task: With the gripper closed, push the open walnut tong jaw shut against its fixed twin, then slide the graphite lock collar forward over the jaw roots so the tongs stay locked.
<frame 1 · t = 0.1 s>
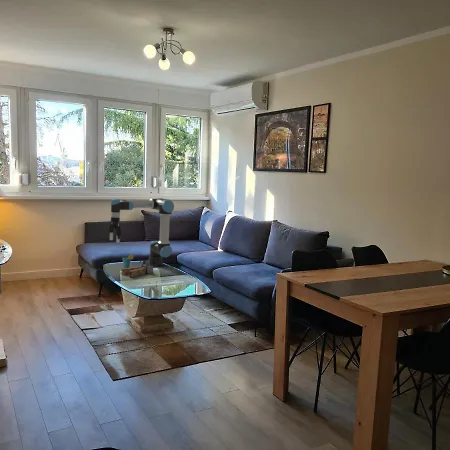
hand: (114, 241, 381), 28 cm above the table, fingers open, 13 cm apart
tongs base: (143, 272, 391), on the table
lock collar: (147, 266, 393), point 5 cm above the table, slide at 0.0 cm
hinged jaw: (137, 272, 381), point 3 cm above the table, hinge at 20.0°
cup: (125, 269, 399), on the table
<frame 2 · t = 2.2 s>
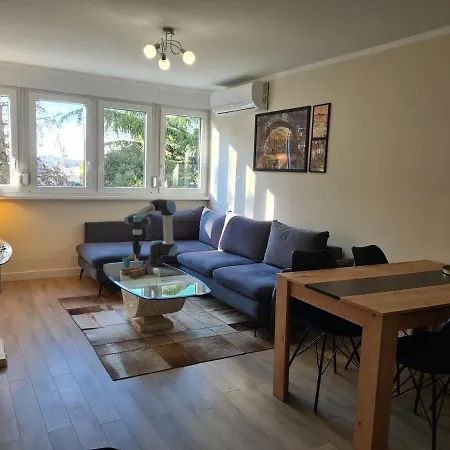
hand: (136, 262, 368), 14 cm above the table, fingers closed
nothing on the table moved.
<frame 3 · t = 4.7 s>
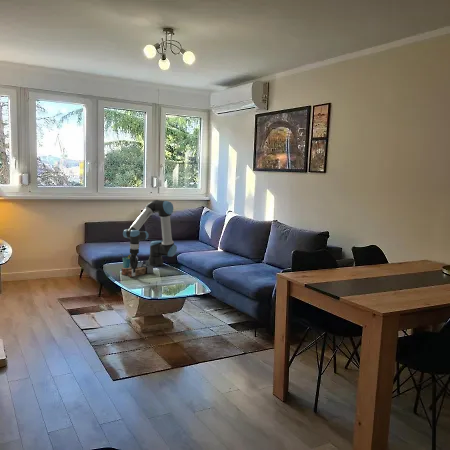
hand: (133, 275, 373), 1 cm above the table, fingers closed
hinged jaw: (137, 272, 381), point 3 cm above the table, hinge at 16.8°, touching gripper
everything else where it was.
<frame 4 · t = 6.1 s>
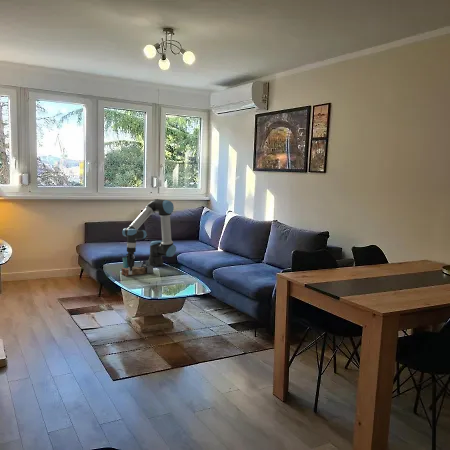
hand: (130, 274, 377), 2 cm above the table, fingers closed
hinged jaw: (134, 271, 383), point 3 cm above the table, hinge at -0.2°, touching gripper
everything else where it was.
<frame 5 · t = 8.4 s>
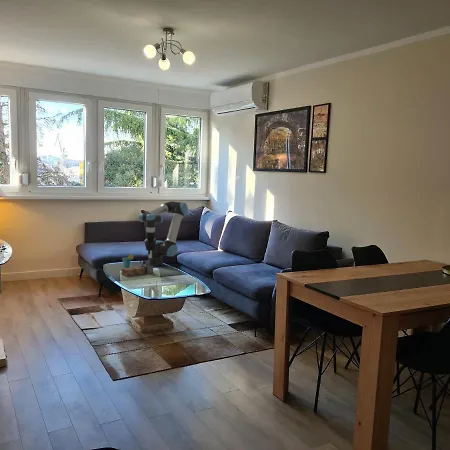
hand: (150, 257, 392), 14 cm above the table, fingers closed
hinged jaw: (134, 271, 383), point 3 cm above the table, hinge at -0.2°
everything else where it was.
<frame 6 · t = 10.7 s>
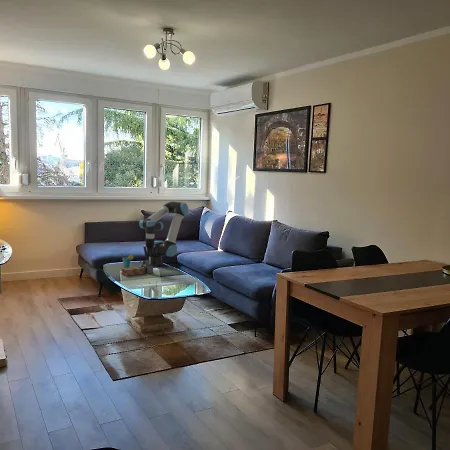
hand: (148, 264, 393), 8 cm above the table, fingers closed
lock collar: (147, 266, 393), point 5 cm above the table, slide at 0.0 cm, touching gripper
everything else where it was.
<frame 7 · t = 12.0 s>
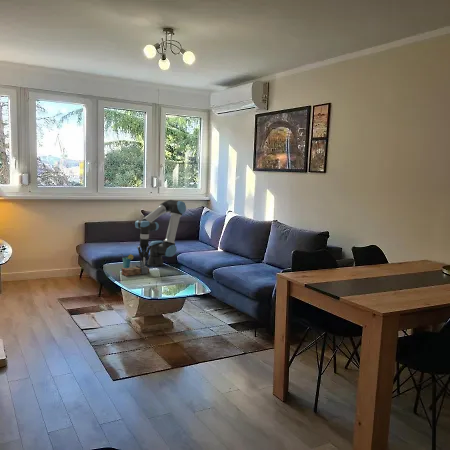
hand: (143, 264, 390), 7 cm above the table, fingers closed
lock collar: (141, 267, 389), point 5 cm above the table, slide at 5.5 cm, touching gripper
everything else where it was.
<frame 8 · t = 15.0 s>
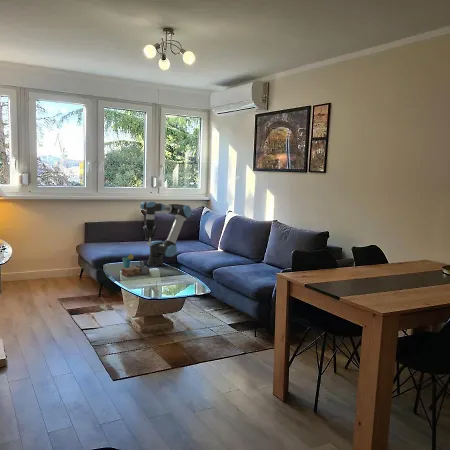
hand: (149, 245, 393), 24 cm above the table, fingers closed
lock collar: (141, 267, 389), point 5 cm above the table, slide at 5.5 cm
everything else where it was.
at the end: hinged jaw at +0° (first picture: +20°); lock collar slide at 5.5 cm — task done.
